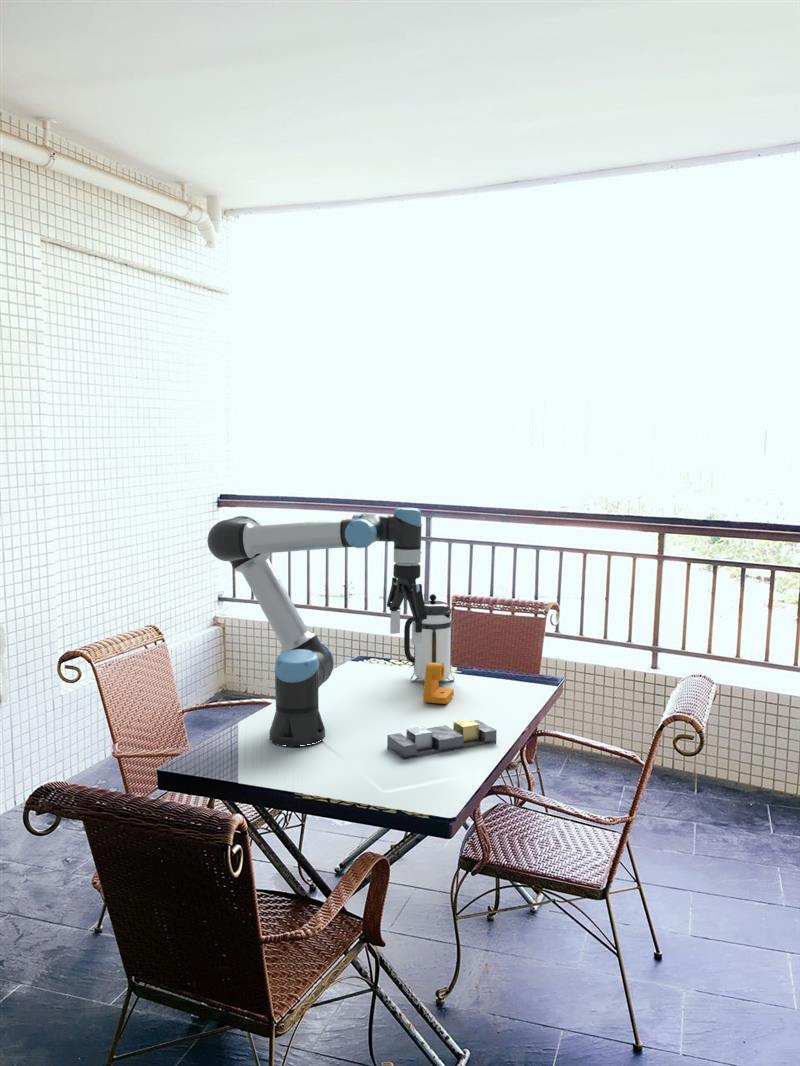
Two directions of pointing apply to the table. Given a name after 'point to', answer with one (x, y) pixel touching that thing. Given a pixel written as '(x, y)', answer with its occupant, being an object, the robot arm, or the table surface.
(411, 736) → the brushed aluminum cube
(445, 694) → the bracket
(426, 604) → the coffee press
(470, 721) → the sand colored cube
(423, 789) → the table surface
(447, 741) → the grey stepped block holder
